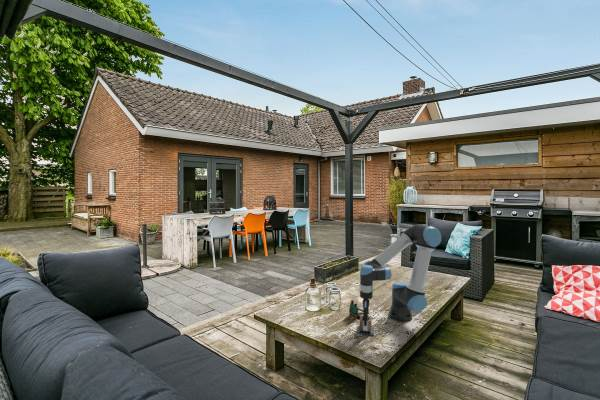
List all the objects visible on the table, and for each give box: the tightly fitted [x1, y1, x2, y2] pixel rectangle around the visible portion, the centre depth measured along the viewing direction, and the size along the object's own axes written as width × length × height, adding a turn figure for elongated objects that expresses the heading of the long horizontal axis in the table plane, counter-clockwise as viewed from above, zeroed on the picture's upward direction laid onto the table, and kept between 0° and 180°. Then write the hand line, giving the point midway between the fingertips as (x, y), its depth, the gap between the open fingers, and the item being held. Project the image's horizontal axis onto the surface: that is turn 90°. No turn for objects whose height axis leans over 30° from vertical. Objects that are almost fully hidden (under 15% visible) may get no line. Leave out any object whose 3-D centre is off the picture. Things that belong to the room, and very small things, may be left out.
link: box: [358, 315, 373, 331], centre depth 187 cm, size 7×7×6 cm
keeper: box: [356, 325, 375, 337], centre depth 187 cm, size 10×9×12 cm
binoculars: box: [348, 299, 363, 320], centre depth 208 cm, size 9×11×10 cm
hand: (365, 327), depth 188 cm, fingers closed on link, 7 cm apart
